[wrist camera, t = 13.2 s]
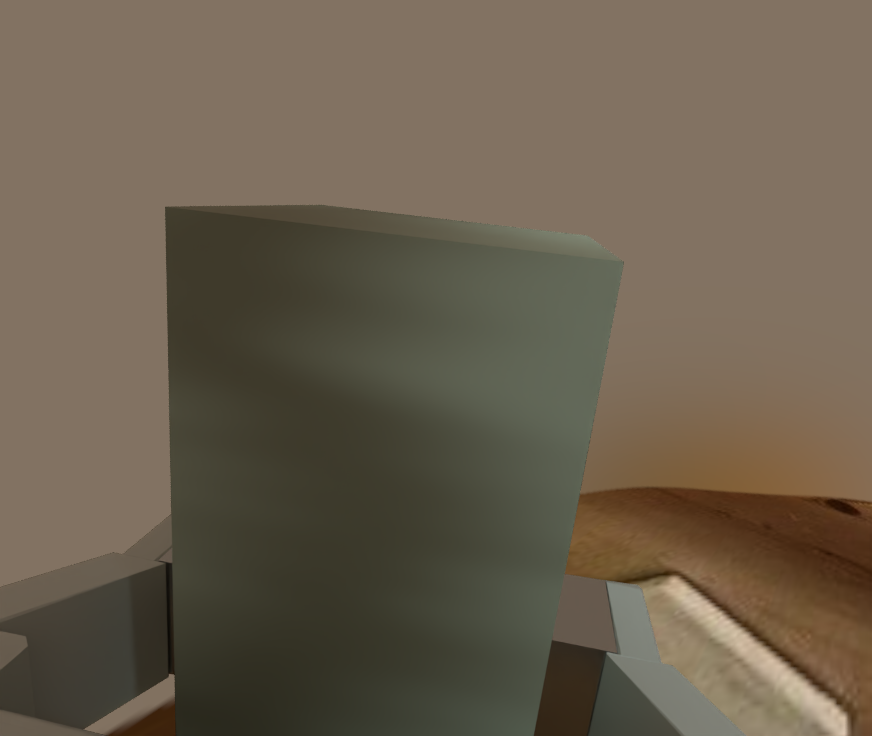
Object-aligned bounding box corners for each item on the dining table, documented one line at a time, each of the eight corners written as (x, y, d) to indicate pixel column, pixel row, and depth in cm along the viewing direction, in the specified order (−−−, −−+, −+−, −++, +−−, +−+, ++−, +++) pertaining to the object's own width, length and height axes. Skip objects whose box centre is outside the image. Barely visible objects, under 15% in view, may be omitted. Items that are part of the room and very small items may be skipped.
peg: (482, 848, 12) (588, 236, 9) (454, 1148, 8) (623, 262, 5) (291, 800, 13) (320, 204, 9) (182, 1061, 9) (165, 207, 5)
